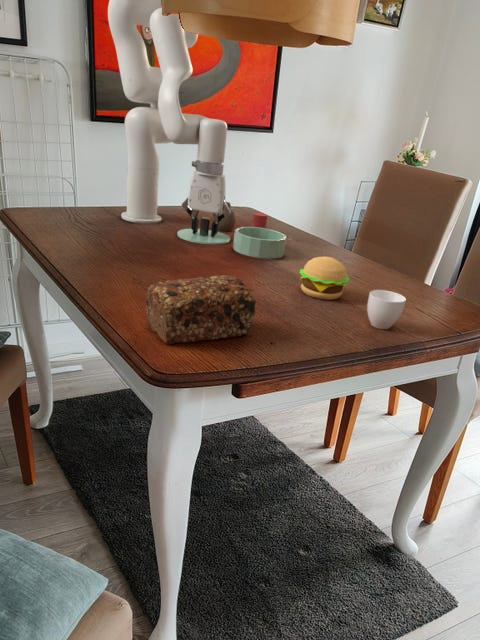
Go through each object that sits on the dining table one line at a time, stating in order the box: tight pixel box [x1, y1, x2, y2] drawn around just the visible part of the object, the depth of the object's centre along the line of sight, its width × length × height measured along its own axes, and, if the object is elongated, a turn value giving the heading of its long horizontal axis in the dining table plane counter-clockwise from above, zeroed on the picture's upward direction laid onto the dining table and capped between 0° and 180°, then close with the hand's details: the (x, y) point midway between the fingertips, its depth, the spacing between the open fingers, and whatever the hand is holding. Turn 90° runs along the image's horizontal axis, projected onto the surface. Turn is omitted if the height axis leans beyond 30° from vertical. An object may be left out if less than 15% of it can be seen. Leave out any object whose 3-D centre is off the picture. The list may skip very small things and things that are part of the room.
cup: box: [366, 289, 407, 330], centre depth 126 cm, size 8×10×7 cm
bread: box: [145, 274, 257, 345], centre depth 109 cm, size 19×11×10 cm, turn 118°
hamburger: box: [299, 256, 350, 301], centre depth 139 cm, size 12×12×9 cm
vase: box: [218, 201, 236, 233], centre depth 183 cm, size 7×7×9 cm
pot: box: [232, 226, 288, 260], centre depth 166 cm, size 15×15×6 cm
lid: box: [176, 216, 231, 246], centre depth 171 cm, size 16×16×6 cm
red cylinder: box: [251, 212, 268, 229], centre depth 182 cm, size 4×4×7 cm
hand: (204, 233), depth 172 cm, fingers open, 4 cm apart
